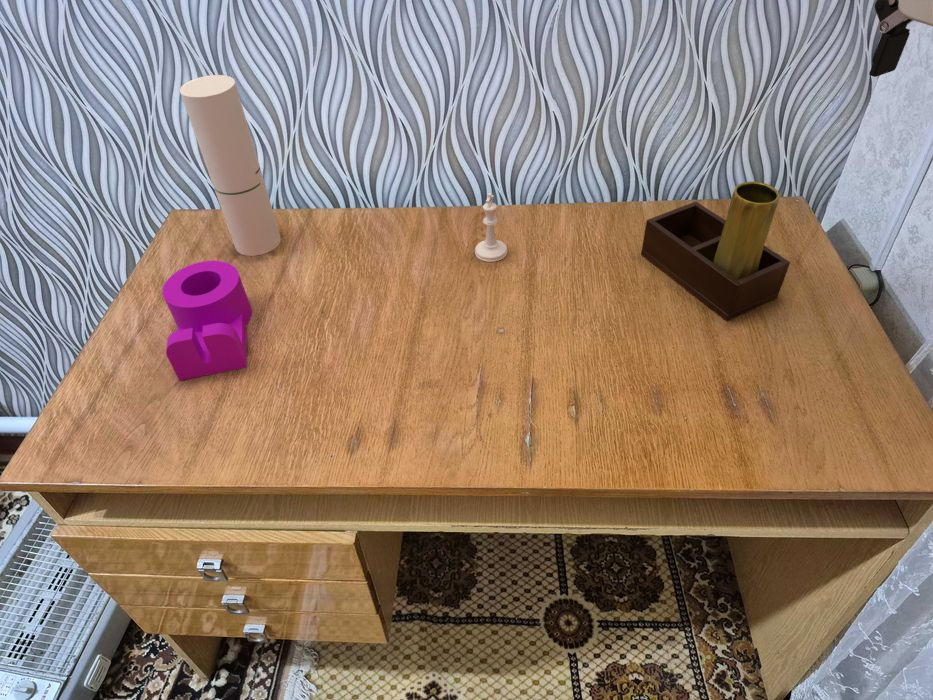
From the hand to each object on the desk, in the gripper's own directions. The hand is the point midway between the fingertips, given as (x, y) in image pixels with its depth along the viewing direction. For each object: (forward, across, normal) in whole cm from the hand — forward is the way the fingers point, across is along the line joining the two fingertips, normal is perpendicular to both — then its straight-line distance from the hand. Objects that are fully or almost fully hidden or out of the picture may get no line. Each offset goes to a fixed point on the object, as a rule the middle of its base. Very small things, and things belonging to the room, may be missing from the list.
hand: (925, 89), depth 65 cm
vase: (+29, +11, +6) cm, 32 cm away
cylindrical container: (+31, +58, +59) cm, 88 cm away
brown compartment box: (+30, +15, +6) cm, 34 cm away
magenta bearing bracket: (+31, +40, +70) cm, 86 cm away
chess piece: (+31, +36, +29) cm, 55 cm away
